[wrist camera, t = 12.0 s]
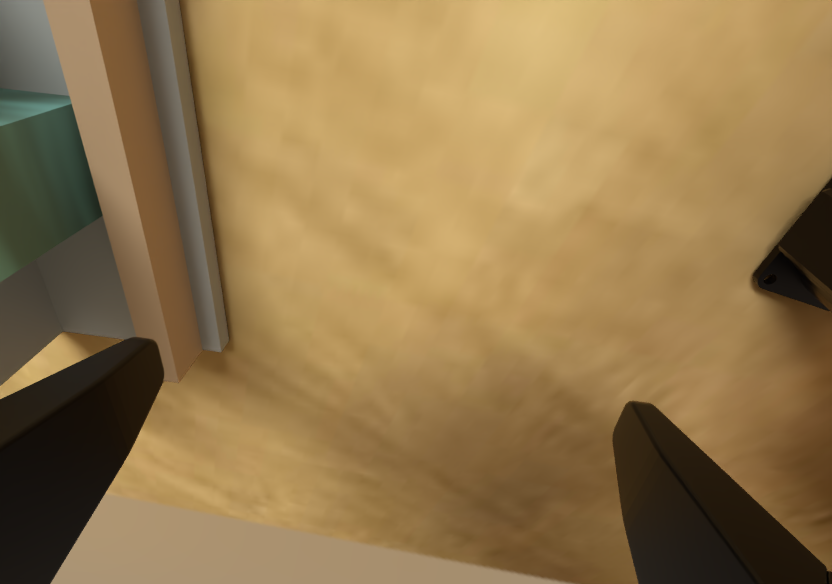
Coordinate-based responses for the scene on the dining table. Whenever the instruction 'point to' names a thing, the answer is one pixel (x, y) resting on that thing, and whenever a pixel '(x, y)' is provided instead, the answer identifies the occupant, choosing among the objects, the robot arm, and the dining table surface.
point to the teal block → (40, 177)
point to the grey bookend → (118, 184)
